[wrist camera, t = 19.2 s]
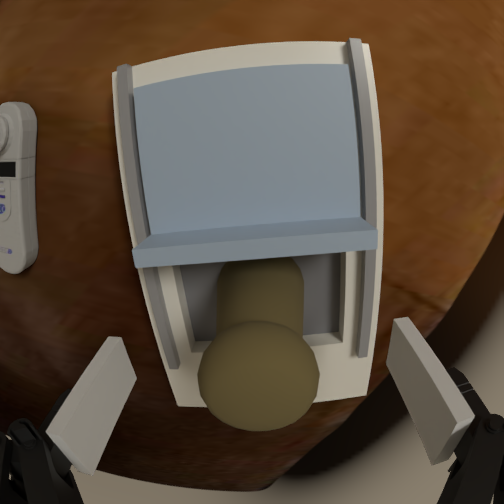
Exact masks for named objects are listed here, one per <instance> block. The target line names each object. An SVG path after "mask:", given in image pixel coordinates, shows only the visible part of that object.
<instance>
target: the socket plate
mask: <svg viewBox="0 0 504 504" xmlns="http://www.w3.org/2000/svg"><path fill="white" fill-rule="evenodd" d="M290 64H348V66H349V73H350V80H351V88H352V96H353V105H354V114H355V124H356V136H357V148H358V164H359V185H360V217H361V218H363V219H364V220H365V221H367V222H368V223H369V224H371V225H372V226H373V227H375V228H376V229H377V230H378V247H377V249H374V250H362V251H350V252H338V253H326V254H314V255H302V256H289V257H291V258H292V259H293V260H294V261H295V263H296V264H297V265H298V267H299V268H300V269H301V273H302V276H303V279H304V315H303V339H304V340H305V341H306V343H307V344H308V345H309V346H310V348H311V349H312V350H313V352H314V355H315V358H316V361H317V364H318V368H319V372H320V377H319V384H318V391H317V396H316V398H315V399H314V401H313V402H321V401H329V400H337V399H344V398H351V397H357V396H363V395H366V393H367V388H368V382H369V377H370V371H371V364H372V358H373V351H374V344H375V336H376V328H377V319H378V309H379V299H380V286H381V272H382V252H383V170H382V151H381V137H380V125H379V114H378V105H377V96H376V89H375V81H374V74H373V68H372V62H371V56H370V50H369V45H368V44H363V43H361V39H354V38H349V39H348V41H347V42H277V43H262V44H250V45H240V46H232V47H224V48H217V49H210V50H204V51H198V52H193V53H187V54H182V55H178V56H173V57H168V58H164V59H160V60H155V61H151V62H148V63H144V64H140V65H136V66H133V67H132V66H130V65H128V64H124V65H121V66H118V67H117V71H116V72H113V73H112V83H113V102H114V117H115V128H116V139H117V148H118V157H119V165H120V173H121V180H122V187H123V194H124V200H125V206H126V212H127V218H128V223H129V229H130V234H131V239H132V244H133V249H134V248H135V247H136V246H137V245H139V244H140V243H141V242H142V241H144V240H145V239H146V238H147V237H149V236H150V235H151V231H150V225H149V219H148V213H147V207H146V200H145V194H144V187H143V180H142V172H141V165H140V156H139V148H138V138H137V128H136V117H135V104H134V90H133V88H136V87H140V86H144V85H148V84H152V83H157V82H161V81H166V80H170V79H175V78H180V77H185V76H191V75H197V74H203V73H209V72H215V71H223V70H230V69H239V68H248V67H259V66H272V65H290ZM226 262H227V261H225V262H212V263H199V264H185V265H172V266H158V267H144V268H138V272H139V276H140V281H141V285H142V289H143V293H144V297H145V301H146V305H147V309H148V312H149V316H150V320H151V323H152V327H153V331H154V334H155V337H156V341H157V344H158V348H159V351H160V354H161V357H162V360H163V364H164V367H165V370H166V373H167V376H168V379H169V382H170V385H171V388H172V390H173V393H174V396H175V399H176V402H177V404H178V406H188V407H207V406H206V404H205V402H204V401H203V399H202V398H201V396H200V391H199V386H198V377H197V373H198V369H199V366H200V362H201V359H202V355H203V352H204V351H205V350H206V348H207V347H208V346H209V345H210V343H211V342H212V341H213V340H214V338H215V337H216V318H217V281H218V278H219V274H220V271H221V269H222V267H223V266H224V265H225V263H226Z"/></svg>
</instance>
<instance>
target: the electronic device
mask: <svg viewBox="0 0 504 504" xmlns="http://www.w3.org/2000/svg"><path fill="white" fill-rule="evenodd" d="M36 140H37V119H36V115H35V112H34V111H33V109H32V108H31V107H30V105H29V104H26V103H23V102H6V103H3V104H1V105H0V267H1V268H2V269H3V270H5V271H6V272H9V273H11V274H18V273H20V272H22V271H23V270H24V269H26V268H28V267H29V266H31V265H32V264H33V263H34V262H35V260H36V258H37V254H38V235H37V220H36V199H35V162H36V157H35V156H36Z"/></svg>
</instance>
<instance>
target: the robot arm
mask: <svg viewBox="0 0 504 504" xmlns="http://www.w3.org/2000/svg"><path fill="white" fill-rule="evenodd" d="M386 364H387V366H388V368H389V371H390V373H391V375H392V377H393V379H394V381H395V383H396V385H397V387H398V389H399V391H400V394H401V396H402V398H403V400H404V402H405V404H406V406H407V408H408V411H409V413H410V415H411V417H412V420H413V422H414V424H415V426H416V429H417V431H418V433H419V436H420V438H421V440H422V442H423V445H424V447H425V450H426V452H427V455H428V457H429V460H430V462H431V465H435V464H438V463H440V462H443V461H446V460H448V459H449V458H450V456H451V455H452V453H453V452H455V455H456V457H457V458H456V460H455V461H454V463H453V464H452V465H451V467H450V468H449V470H448V472H450V471H451V472H450V475H449V477H448V480H447V482H446V484H445V487H444V489H443V491H442V494H441V496H440V498H439V500H438V502H437V504H490V503H491V500H492V497H493V494H494V500H493V504H504V418H503V417H502V416H500V415H497V414H490V413H489V411H488V409H487V408H486V406H485V405H484V403H483V402H482V400H481V399H480V397H479V396H478V394H477V393H476V392H475V390H473V387H472V386H471V384H470V383H469V381H468V380H467V378H466V377H465V376H464V374H463V373H462V372H460V371H459V370H457V369H456V368H454V367H453V368H450V369H446V370H445V368H444V367H443V366H442V364H441V362H440V361H439V359H438V358H437V357H436V355H435V354H434V352H433V351H432V349H431V348H430V347H429V345H428V344H427V342H426V341H425V340H424V338H423V337H422V335H421V334H420V333H419V331H418V330H417V329H416V327H415V326H414V324H413V323H412V322H411V320H410V319H409V318H408V317H404V318H398V319H394V321H393V328H392V334H391V340H390V346H389V352H388V357H387V362H386ZM136 379H137V377H136V375H135V372H134V370H133V367H132V365H131V362H130V360H129V357H128V355H127V352H126V349H125V346H124V344H123V341H122V338H121V337H108V338H107V339H106V341H105V342H104V344H103V345H102V347H101V348H100V349H99V351H98V352H97V354H96V355H95V357H94V358H93V359H92V361H91V362H90V364H89V365H88V367H87V368H86V370H85V371H84V373H83V374H82V376H81V377H80V379H79V380H78V382H77V383H76V385H75V386H74V388H73V389H67V390H66V391H65V392H64V393H62V394H61V395H60V396H59V398H58V399H57V401H56V402H55V404H54V406H53V407H52V409H51V411H50V412H49V413H48V415H47V416H46V418H45V419H44V421H43V423H42V424H41V426H40V427H39V429H38V430H37V429H36V428H35V427H34V425H33V424H32V423H31V421H29V420H28V419H25V418H21V419H17V420H15V421H14V422H13V423H12V424H10V426H9V428H8V432H7V434H8V435H9V436H10V437H11V439H12V440H9V439H8V438H7V437H6V435H5V434H4V433H2V432H0V504H84V503H83V500H82V498H81V495H80V492H79V490H78V487H77V484H76V482H75V479H74V476H73V474H72V472H71V470H70V467H71V465H73V466H74V467H75V468H76V469H77V470H78V471H79V472H82V473H85V474H89V475H92V476H93V474H94V472H95V470H96V467H97V465H98V463H99V460H100V458H101V456H102V453H103V451H104V449H105V446H106V444H107V442H108V440H109V437H110V435H111V433H112V431H113V428H114V426H115V424H116V422H117V420H118V417H119V415H120V413H121V411H122V409H123V407H124V404H125V402H126V400H127V398H128V396H129V394H130V392H131V390H132V387H133V385H134V383H135V381H136ZM9 474H10V475H11V480H9Z"/></svg>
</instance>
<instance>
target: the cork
mask: <svg viewBox="0 0 504 504" xmlns="http://www.w3.org/2000/svg"><path fill="white" fill-rule="evenodd" d="M303 315H304V279H303V276H302V273H301V269H300V268H299V267H298V265H297V264H296V263H295V261H294V260H293V259H292V258H291V257H277V258H264V259H251V260H238V261H227V262H226V263H225V265H224V266H223V267H222V269H221V271H220V274H219V278H218V281H217V318H216V337H215V338H214V340H213V341H212V342H211V343H210V345H209V346H208V347H207V348H206V350H205V351H204V352H203V355H202V359H201V362H200V366H199V369H198V373H197V377H198V386H199V391H200V396H201V398H202V399H203V401H204V402H205V404H206V406H207V407H208V409H209V410H210V412H211V413H212V414H213V415H214V416H215V417H217V418H218V419H219V420H221V421H222V422H224V423H226V424H228V425H230V426H233V427H235V428H239V429H244V430H249V431H269V430H274V429H279V428H282V427H285V426H287V425H289V424H291V423H294V422H295V421H297V420H298V419H299V418H300V417H302V416H303V415H304V414H305V413H306V412H307V410H308V409H309V407H310V406H311V404H312V403H313V401H314V399H315V398H316V396H317V391H318V384H319V377H320V372H319V368H318V364H317V361H316V358H315V355H314V352H313V350H312V349H311V348H310V346H309V345H308V344H307V343H306V341H305V340H304V339H303Z"/></svg>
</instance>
